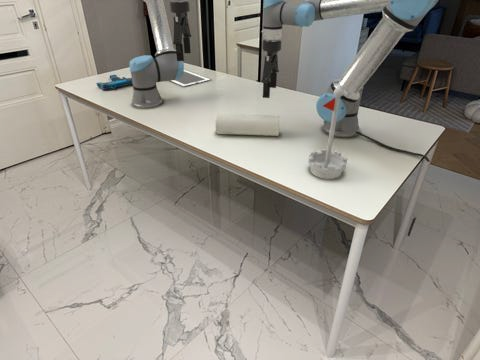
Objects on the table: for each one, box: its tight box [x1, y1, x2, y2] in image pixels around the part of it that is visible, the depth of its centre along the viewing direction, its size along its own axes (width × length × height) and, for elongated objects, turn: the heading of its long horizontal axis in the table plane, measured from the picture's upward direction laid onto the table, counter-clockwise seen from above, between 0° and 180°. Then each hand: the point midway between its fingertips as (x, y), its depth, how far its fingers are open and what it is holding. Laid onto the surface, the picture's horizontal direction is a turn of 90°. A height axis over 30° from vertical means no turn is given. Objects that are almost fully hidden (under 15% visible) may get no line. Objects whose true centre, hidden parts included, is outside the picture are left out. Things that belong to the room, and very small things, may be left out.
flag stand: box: [307, 88, 348, 180], centre depth 113 cm, size 13×13×30 cm
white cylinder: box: [215, 113, 280, 137], centre depth 145 cm, size 26×8×8 cm, turn 85°
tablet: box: [170, 69, 212, 88], centre depth 217 cm, size 32×20×1 cm, turn 41°
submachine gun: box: [95, 74, 133, 91], centre depth 209 cm, size 34×4×25 cm
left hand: (184, 56), depth 145 cm, fingers open, 13 cm apart
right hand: (269, 92), depth 146 cm, fingers open, 13 cm apart
